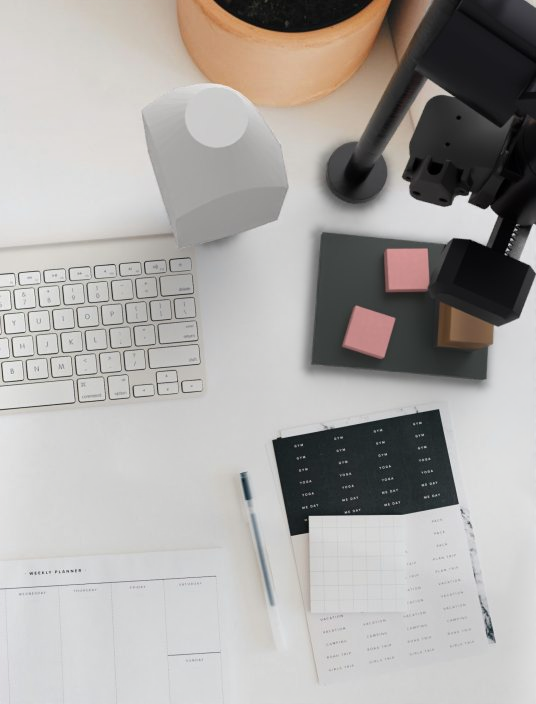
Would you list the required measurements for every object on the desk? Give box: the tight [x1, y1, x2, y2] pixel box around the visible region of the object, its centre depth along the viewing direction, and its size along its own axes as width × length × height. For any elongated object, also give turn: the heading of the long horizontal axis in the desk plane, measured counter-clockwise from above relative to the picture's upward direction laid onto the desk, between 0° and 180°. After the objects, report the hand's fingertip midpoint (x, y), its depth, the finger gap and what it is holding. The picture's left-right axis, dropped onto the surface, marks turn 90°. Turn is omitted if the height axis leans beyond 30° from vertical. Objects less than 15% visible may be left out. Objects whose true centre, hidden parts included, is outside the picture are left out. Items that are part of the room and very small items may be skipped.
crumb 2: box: [384, 249, 429, 292], centre depth 72 cm, size 4×4×1 cm
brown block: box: [432, 300, 495, 352], centre depth 70 cm, size 4×8×5 cm, turn 175°
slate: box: [310, 231, 489, 381], centre depth 72 cm, size 17×13×1 cm
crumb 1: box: [342, 306, 395, 359], centre depth 71 cm, size 4×4×1 cm
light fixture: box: [140, 82, 290, 249], centre depth 63 cm, size 9×9×20 cm
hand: (473, 226), depth 60 cm, fingers open, 9 cm apart
